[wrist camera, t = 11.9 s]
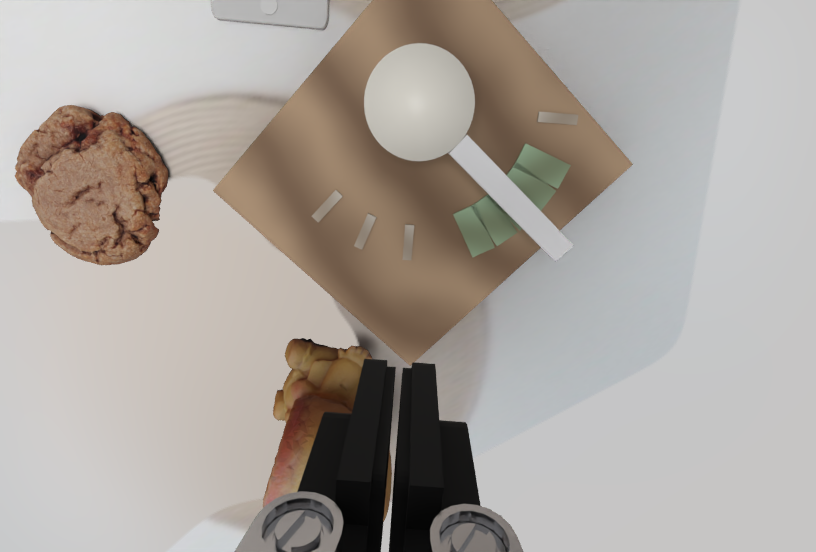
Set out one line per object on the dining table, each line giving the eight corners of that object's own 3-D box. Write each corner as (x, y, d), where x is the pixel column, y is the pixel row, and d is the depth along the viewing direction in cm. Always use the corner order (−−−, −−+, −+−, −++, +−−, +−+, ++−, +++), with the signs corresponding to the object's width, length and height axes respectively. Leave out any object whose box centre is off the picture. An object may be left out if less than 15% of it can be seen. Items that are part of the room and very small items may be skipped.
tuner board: (430, -56, 28) (431, -72, 26) (619, 162, 31) (634, 164, 29) (224, 186, 32) (211, 190, 30) (410, 353, 36) (410, 367, 34)
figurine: (286, 314, 35) (277, 452, 21) (382, 327, 37) (430, 460, 23) (265, 423, 38) (245, 606, 24) (355, 430, 40) (383, 601, 26)
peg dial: (348, 108, 28) (341, 106, 25) (418, 28, 27) (418, 16, 24) (516, 273, 31) (526, 288, 28) (586, 209, 30) (604, 217, 27)
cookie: (74, 272, 35) (44, 285, 32) (7, 126, 32) (-34, 126, 29) (200, 243, 34) (179, 254, 31) (143, 91, 31) (115, 87, 28)
